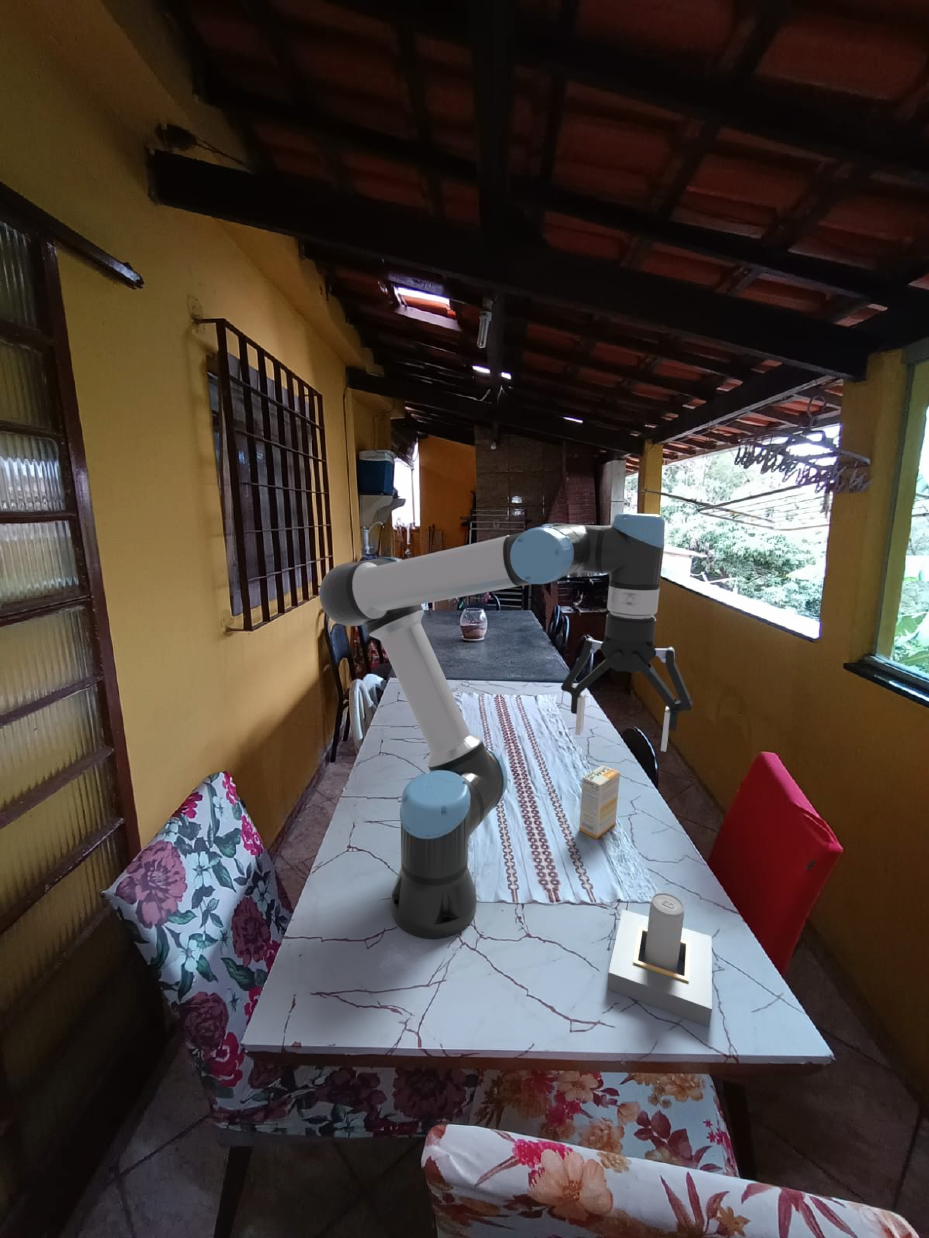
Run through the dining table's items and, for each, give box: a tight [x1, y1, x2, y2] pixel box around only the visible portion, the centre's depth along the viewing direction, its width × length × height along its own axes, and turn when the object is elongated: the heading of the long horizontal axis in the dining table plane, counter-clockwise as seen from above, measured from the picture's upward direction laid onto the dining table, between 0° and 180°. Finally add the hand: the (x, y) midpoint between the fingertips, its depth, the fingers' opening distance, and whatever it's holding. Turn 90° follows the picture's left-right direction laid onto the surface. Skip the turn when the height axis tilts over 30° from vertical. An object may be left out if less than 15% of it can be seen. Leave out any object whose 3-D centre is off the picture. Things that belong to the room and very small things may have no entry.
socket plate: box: [606, 908, 713, 1028], centre depth 83 cm, size 14×14×3 cm
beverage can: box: [643, 892, 685, 974], centre depth 82 cm, size 5×5×12 cm
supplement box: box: [578, 765, 621, 839], centre depth 119 cm, size 8×5×13 cm, turn 134°
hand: (620, 739), depth 89 cm, fingers open, 13 cm apart
